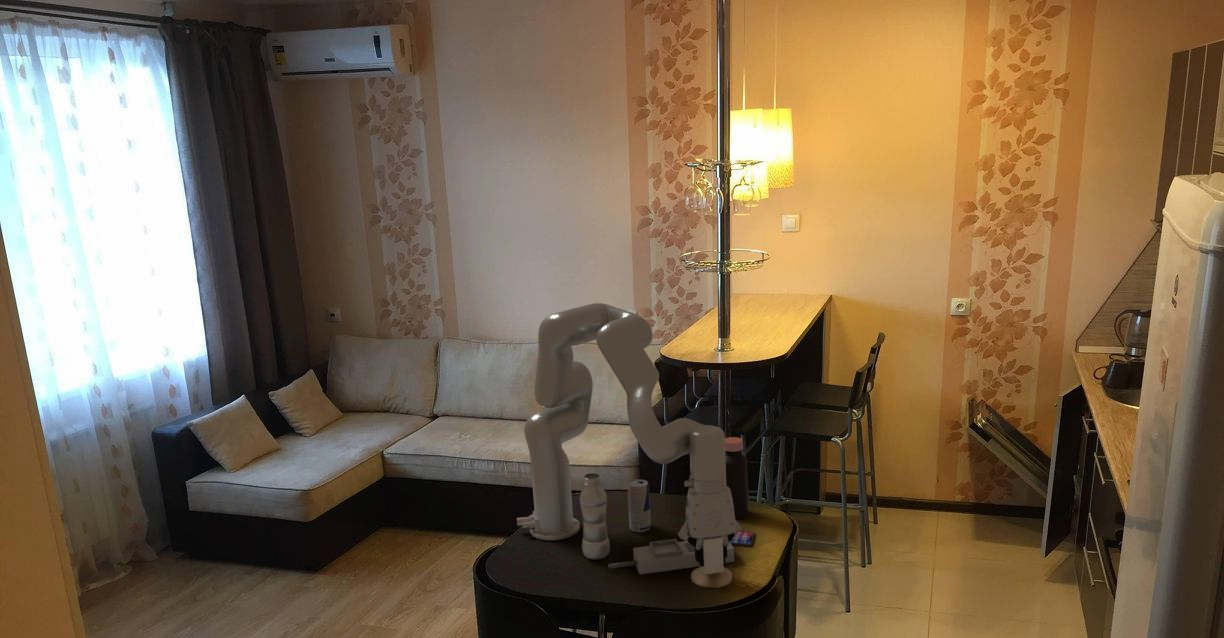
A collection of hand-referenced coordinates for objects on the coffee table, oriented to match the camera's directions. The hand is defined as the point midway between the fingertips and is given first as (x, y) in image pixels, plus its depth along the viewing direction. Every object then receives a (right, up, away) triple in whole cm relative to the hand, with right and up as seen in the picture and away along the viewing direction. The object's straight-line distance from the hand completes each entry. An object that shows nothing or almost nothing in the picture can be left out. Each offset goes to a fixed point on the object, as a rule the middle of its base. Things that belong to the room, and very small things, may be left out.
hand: (711, 561), depth 183 cm
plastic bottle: (-25, -3, +13) cm, 29 cm away
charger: (0, -2, 0) cm, 2 cm away
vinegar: (+10, +3, +32) cm, 34 cm away
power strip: (-8, -3, +8) cm, 12 cm away
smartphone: (+5, -1, +19) cm, 20 cm away
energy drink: (-15, 0, +27) cm, 31 cm away
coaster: (0, -4, +1) cm, 4 cm away
